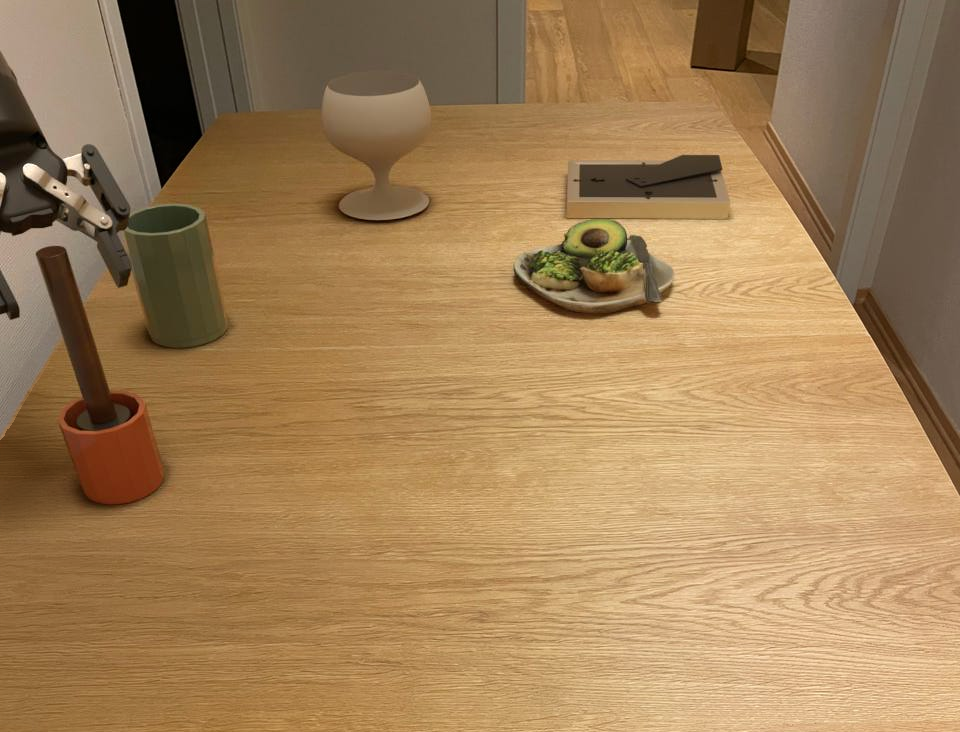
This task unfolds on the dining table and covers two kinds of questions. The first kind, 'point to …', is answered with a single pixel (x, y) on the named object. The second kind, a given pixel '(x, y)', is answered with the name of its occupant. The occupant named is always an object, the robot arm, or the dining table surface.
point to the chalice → (378, 136)
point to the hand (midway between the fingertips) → (70, 298)
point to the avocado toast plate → (595, 270)
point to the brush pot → (114, 453)
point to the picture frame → (648, 189)
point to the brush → (79, 342)
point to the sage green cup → (175, 275)
